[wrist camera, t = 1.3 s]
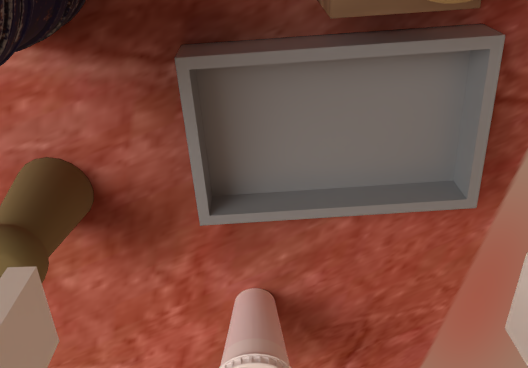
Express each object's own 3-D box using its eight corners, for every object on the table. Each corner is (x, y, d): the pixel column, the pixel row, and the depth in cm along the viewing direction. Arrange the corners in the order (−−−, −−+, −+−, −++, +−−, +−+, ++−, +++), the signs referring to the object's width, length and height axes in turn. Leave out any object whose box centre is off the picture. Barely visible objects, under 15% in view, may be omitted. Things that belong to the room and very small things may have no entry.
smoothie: (220, 329, 47) (209, 476, 35) (218, 276, 44) (205, 417, 32) (288, 329, 47) (300, 476, 35) (291, 276, 44) (305, 416, 32)
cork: (98, 168, 39) (47, 254, 29) (88, 230, 41) (38, 327, 32) (18, 148, 38) (-63, 230, 28) (13, 213, 40) (-62, 307, 31)
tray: (181, 44, 34) (174, 57, 31) (482, 23, 34) (505, 35, 31) (204, 201, 40) (200, 225, 37) (459, 185, 40) (476, 207, 37)
